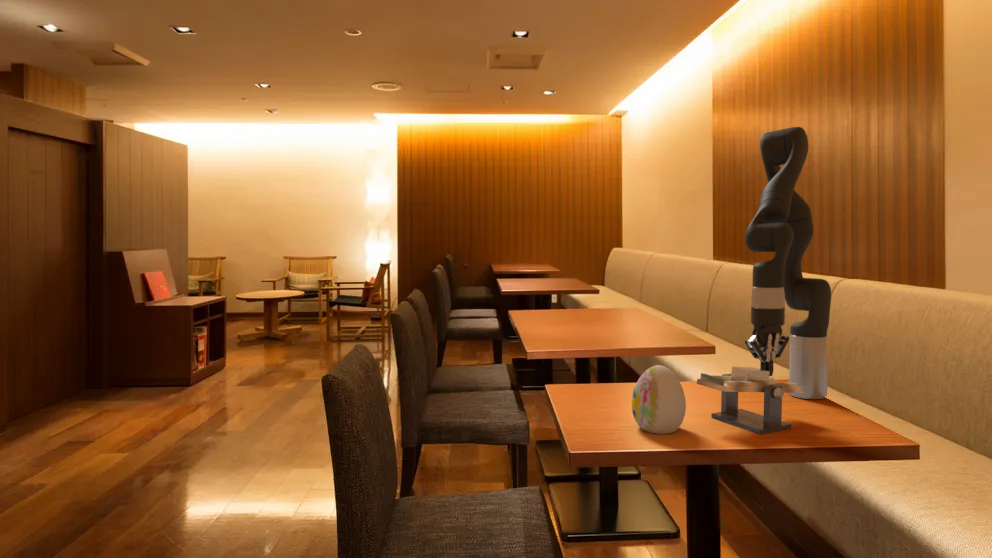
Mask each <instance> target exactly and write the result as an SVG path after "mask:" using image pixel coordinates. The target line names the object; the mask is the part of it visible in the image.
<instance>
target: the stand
mask: <svg viewBox="0 0 992 558" xmlns="http://www.w3.org/2000/svg"><path fill="white" fill-rule="evenodd" d="M721 376H731V373H724V374H722V375H721ZM783 397H784V391H783V389H782V385H779V384H772V385H765V386H764V393H763V414H759V413H756V412H753V411H749V410H746V409H742V408H739V392H724V391H721V400H720V401H721V403H720V404H721V405H720V407H721V408H720V411H718V412H712V413H711V418H712V419H715V420H717V421H720V422H723V423H726V424H729V425H733V426H735V427H738V428H740V429H744V430H747V431H750V432H752V433H756V434H758V435H763V434H768V433H769V434H770V433H775V432H779V431H783V430H784V431H785V430H789V429H792V424H791V423H789V422H784V421H783V420H782V415H783V414H782V413H783Z"/></svg>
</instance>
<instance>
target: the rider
mask: <svg viewBox="0 0 992 558" xmlns="http://www.w3.org/2000/svg"><path fill="white" fill-rule="evenodd" d="M769 373H770V371H767V370H762V369H760V368H758V367H752V366H751V367H750V366H732V367H731V373H730V374H731V381H737V382H769V377H770V376H769Z"/></svg>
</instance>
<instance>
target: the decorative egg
mask: <svg viewBox="0 0 992 558" xmlns="http://www.w3.org/2000/svg"><path fill="white" fill-rule="evenodd" d="M686 401H687V400H686V396H685V392H684V388H683V386H682V384H681V381H680V380H679V378H678V377H677V376H676V375H675V373H674V372H673V371H671V369H669V368H668V367H666V366H663V365H660V364H658V365H657V364H656V365H652V366H650V367H649V368H647V369H646V370H645V371H643V373H642V374H641V375H640V376H639V378H638V380H637V382H636V383H635V386H634V388H633V393H632V396H631V411H632V415H633V418H634V421H635V423H636V425H637V426H638V427H639V429H641V430H642V431H644V432H646V433H651V434H658V435H667V434H672V433H675V432H676V431H678V429H679V428H680V427H681V425H682V424H683V421H684V418H685V415H686V408H687V406H686V405H687V402H686Z"/></svg>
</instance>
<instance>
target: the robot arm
mask: <svg viewBox="0 0 992 558" xmlns="http://www.w3.org/2000/svg"><path fill="white" fill-rule="evenodd" d="M759 147H760V148H759V149H760V156H761V160H762V164H763V168H764V171H765V176H766V179H767V184H765V187H764V188H763V190H762V192H761V193H762V194H761V195H760V201H759V206H758V210H757V212H756V213H755V215H754V216H753V218H752V220H751V221H750V223H749V224H748V226H747V228H746V230H745V234H744V243H745V246H746V248H747V249H748V250H749V251H751V252H754V253H775V254H774V256H773V257H772V259H769V260H767V261H766V260H765V261H759V262H756V263H754V264H753V267H752V288H751V289H752V290H751V297H750V323H751V325H753V329H752V333H751V334H752V336H751V337H750V338H749V339H748V338H747V339H745V340H744V344H745V345H746V347H747V349H748V351H749V352H750V354H751V355H752V357H753V358H754V359H757V360H759V361H760V366H759V367H760V368H759V369H762V370H767V371H770V373H769V377H773V374H774V362H775V361H776V359H777V358H781V356H782V354H783V352H784V350H785V349H786V347H787V345H788V344H789V363H788V365H789V366H788V367H789V370H788V371H789V372H788V373H789V374H788V376H789V377H788V383H798V387H801V388H804V389H803V393H788V395H789V396H792V397H795V398H799V399H805V400H806V399H807V400H822V399H825V398H826V397H827V396H828V382H829V381H828V376H829V375H828V374H829V363H828V362H827V345H828V343H827V340H828V337H827V336H828V329H829V324H830V315H831V305H832V304H831V303H832V290H831V285H830V283H829V282H828V281H827V280H826V279H823V278H814V277H813V278H812V277H811V278H810V277H803V272H802V260H803V258H804V256H805V252H806V251H807V249H808V247H809V245H810V243H811V242H812V240H813V236H814V233H815V231H814V222H813V216H812V210H811V207H810V205H809V204H808V202H807V201H805V199H804V198H803V197H802V196H801V195H800V194H799V193H798V192H797V191H796V190H795V188H796V185H797V182H798V181H799V178H800V176H801V173H802V170H803V168H804V165H805V162H806V160H807V156H808V153H809V138H808V135H807V132H806V130H805V129H804V128H803V127H801V126H794V127H793V126H791V127H788V128H783V129H778V130H773V131H767V132H764V133H763V134H761V137H760V140H759ZM782 165H783V166H782ZM781 166H782V167H781ZM786 305H787V306H788V307H789V308H790V309H792V310H796V311H801V312H802V311H803V312H808V314H807V317H806V318H805V319H804V320H802V321H799V322H794V323H792V324H791V325H790V328H789V330H790V331H789V334H790V335H789V336H787V335H785V334H783V328H782V327H783V326H784V325H785V321H786V320H785V318H786V317H785V316H786V314H785V313H786V310H785V309H786Z"/></svg>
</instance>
